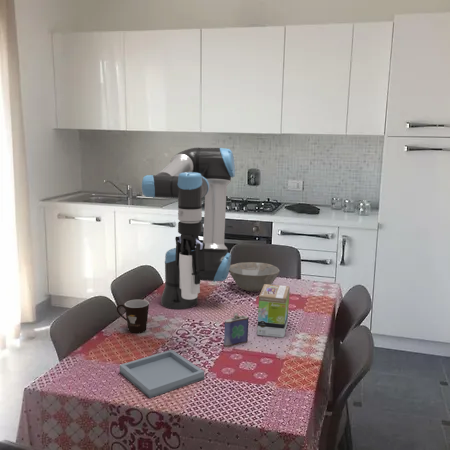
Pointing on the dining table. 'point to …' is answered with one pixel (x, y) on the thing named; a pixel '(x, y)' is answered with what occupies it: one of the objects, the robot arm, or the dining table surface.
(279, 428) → the dining table surface
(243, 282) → the ceramic bowl
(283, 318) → the tea box
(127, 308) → the coffee mug
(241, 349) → the dining table surface
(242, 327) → the flask
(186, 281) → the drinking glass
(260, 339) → the dining table surface
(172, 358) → the tray
